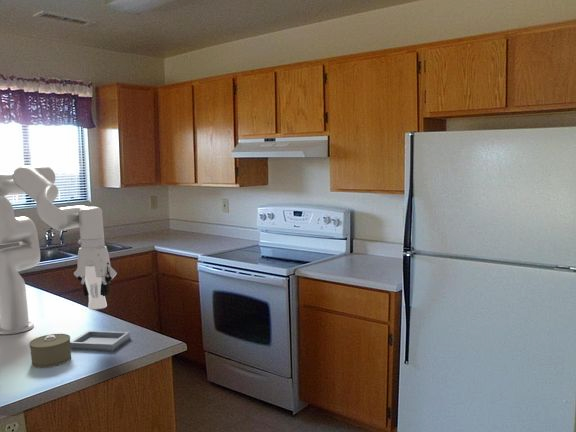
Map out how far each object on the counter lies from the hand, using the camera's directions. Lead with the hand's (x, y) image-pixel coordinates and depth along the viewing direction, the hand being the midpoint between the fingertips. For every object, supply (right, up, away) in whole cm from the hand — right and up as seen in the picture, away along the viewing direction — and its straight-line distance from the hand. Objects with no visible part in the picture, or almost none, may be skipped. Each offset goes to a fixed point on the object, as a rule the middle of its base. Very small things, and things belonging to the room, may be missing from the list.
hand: (96, 294), depth 178 cm
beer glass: (0, -5, +1) cm, 5 cm away
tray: (+1, -18, +2) cm, 18 cm away
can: (-10, -20, -11) cm, 25 cm away
